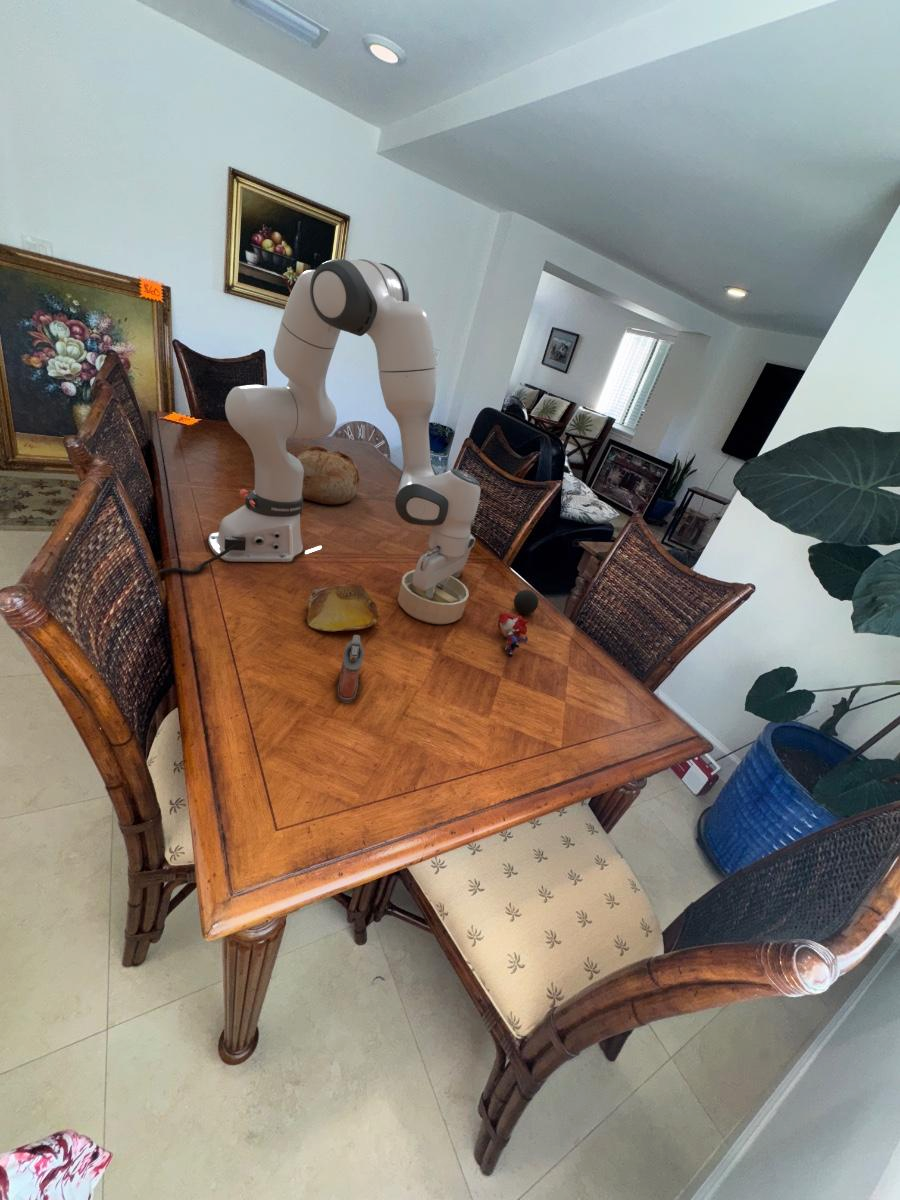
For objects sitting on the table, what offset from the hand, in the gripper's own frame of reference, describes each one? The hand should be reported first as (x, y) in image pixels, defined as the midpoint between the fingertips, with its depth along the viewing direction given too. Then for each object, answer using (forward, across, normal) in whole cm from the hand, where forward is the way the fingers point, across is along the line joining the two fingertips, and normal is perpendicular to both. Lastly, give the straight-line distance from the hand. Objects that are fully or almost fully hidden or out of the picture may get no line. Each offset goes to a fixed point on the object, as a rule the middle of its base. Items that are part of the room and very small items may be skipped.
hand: (434, 593), depth 117 cm
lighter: (+4, -38, -5) cm, 38 cm away
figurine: (+4, +1, -22) cm, 22 cm away
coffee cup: (+4, +20, +6) cm, 22 cm away
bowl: (+4, -1, 0) cm, 4 cm away
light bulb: (+4, +19, -17) cm, 26 cm away
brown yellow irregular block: (+4, -21, +11) cm, 24 cm away
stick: (+2, 0, 0) cm, 2 cm away
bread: (+4, +33, +66) cm, 74 cm away
